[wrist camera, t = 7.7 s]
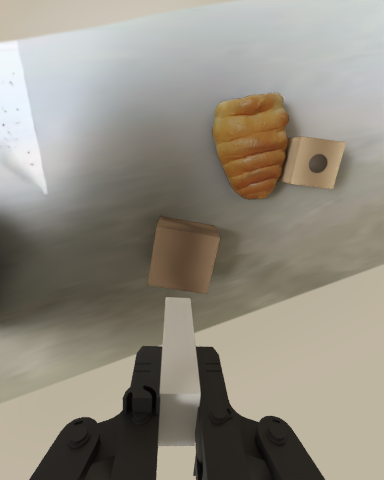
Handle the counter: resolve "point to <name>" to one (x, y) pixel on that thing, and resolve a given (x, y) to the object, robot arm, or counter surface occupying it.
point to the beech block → (311, 162)
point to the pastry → (251, 142)
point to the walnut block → (183, 255)
